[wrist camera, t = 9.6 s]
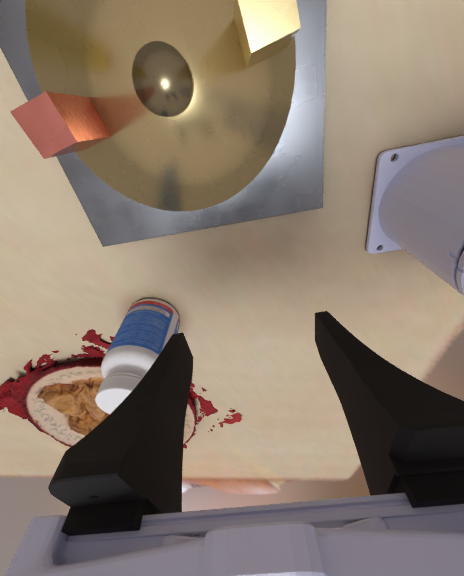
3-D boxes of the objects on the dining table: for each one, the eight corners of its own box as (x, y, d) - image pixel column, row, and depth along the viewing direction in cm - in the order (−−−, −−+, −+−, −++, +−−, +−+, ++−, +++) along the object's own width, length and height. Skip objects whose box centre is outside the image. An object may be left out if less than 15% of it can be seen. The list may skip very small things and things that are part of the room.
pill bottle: (118, 306, 26) (66, 391, 18) (163, 289, 25) (129, 373, 17) (148, 341, 29) (115, 428, 21) (189, 327, 28) (171, 414, 19)
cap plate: (323, -248, 10) (332, -285, 9) (318, 203, 20) (323, 208, 19) (-66, -107, 12) (-91, -125, 11) (107, 241, 22) (102, 247, 21)
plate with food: (139, 455, 47) (134, 478, 44) (-12, 394, 35) (-33, 420, 32) (243, 408, 39) (245, 432, 36) (93, 306, 27) (76, 330, 24)
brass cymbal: (311, 161, 17) (340, 177, 13) (136, 231, 20) (108, 264, 15) (243, -210, 10) (252, -492, 5) (-18, -16, 13) (-159, -91, 8)
